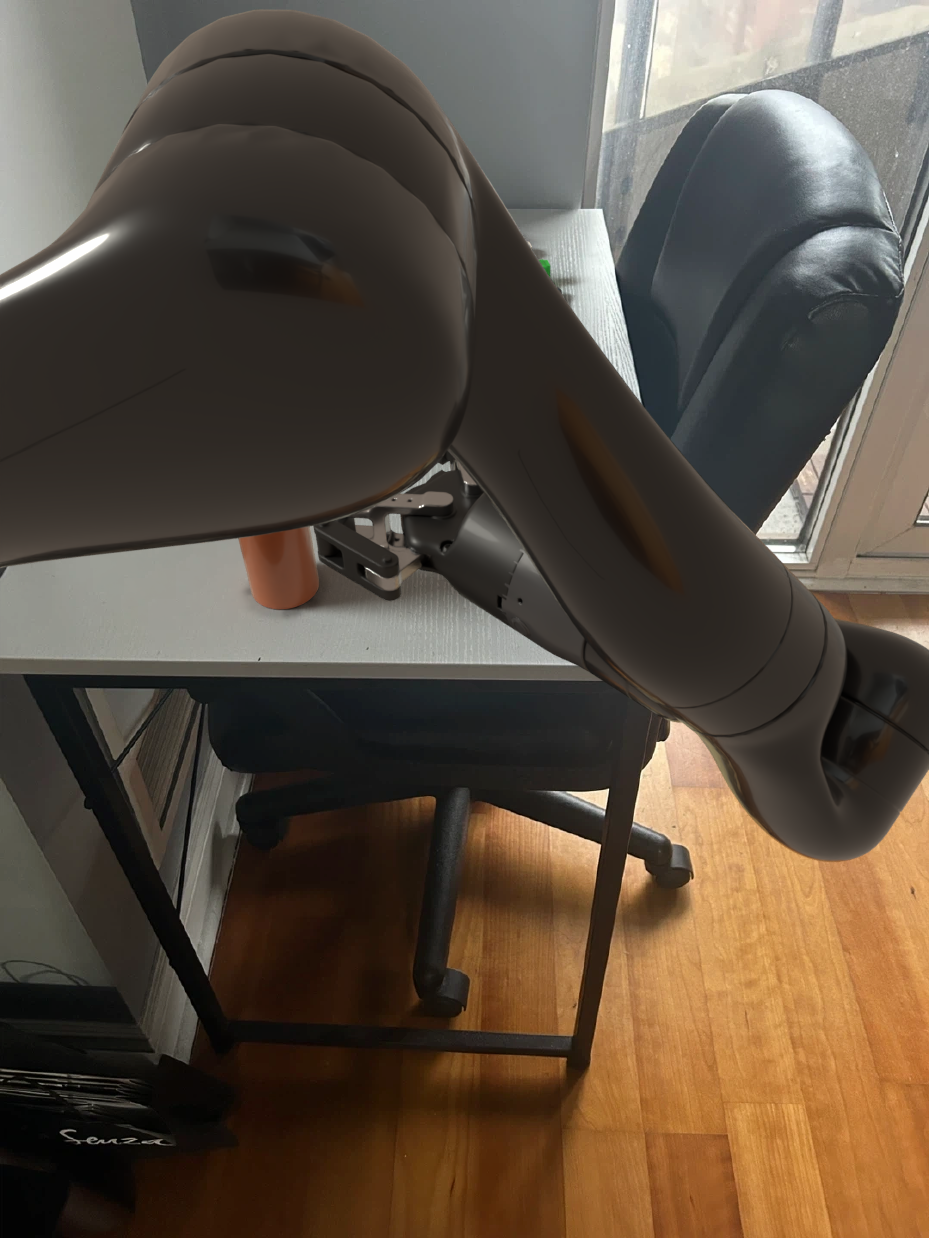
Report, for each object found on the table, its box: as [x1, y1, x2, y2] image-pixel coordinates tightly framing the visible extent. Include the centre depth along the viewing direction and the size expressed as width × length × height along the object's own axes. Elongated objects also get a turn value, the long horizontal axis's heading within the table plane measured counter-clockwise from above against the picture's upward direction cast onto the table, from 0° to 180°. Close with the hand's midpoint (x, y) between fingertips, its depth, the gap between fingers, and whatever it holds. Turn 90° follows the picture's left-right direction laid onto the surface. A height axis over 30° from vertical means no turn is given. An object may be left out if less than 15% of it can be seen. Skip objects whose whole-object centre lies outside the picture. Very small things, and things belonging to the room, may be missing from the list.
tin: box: [237, 526, 320, 610], centre depth 72 cm, size 6×6×12 cm
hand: (354, 454), depth 58 cm, fingers open, 8 cm apart
